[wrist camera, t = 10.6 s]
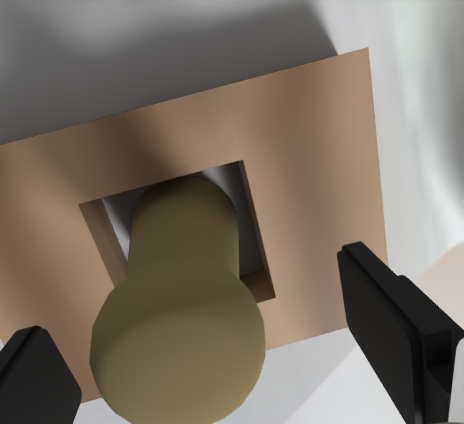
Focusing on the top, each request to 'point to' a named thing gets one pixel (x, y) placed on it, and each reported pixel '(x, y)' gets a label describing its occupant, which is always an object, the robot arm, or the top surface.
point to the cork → (179, 313)
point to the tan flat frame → (186, 162)
